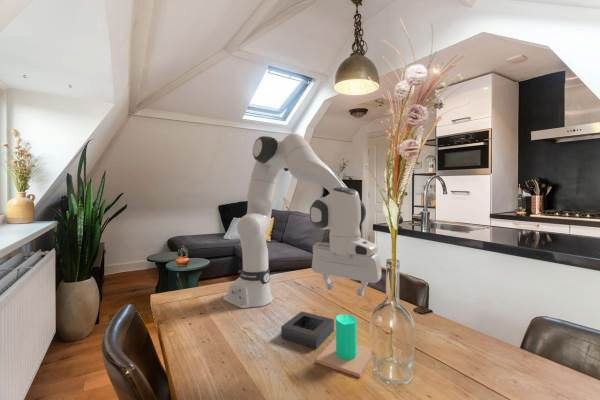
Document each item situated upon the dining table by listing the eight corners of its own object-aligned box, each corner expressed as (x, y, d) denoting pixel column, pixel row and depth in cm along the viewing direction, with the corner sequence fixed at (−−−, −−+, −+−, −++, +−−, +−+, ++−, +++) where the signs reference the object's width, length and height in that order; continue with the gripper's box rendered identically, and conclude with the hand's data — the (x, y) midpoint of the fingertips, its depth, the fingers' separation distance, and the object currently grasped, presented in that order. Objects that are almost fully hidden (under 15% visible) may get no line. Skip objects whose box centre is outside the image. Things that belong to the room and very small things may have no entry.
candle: (331, 353, 85) (331, 313, 84) (344, 345, 89) (344, 307, 88) (348, 362, 80) (348, 320, 80) (360, 353, 84) (360, 313, 84)
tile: (316, 362, 82) (315, 359, 82) (334, 341, 93) (334, 338, 93) (360, 377, 75) (360, 373, 75) (374, 352, 87) (374, 349, 87)
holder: (281, 338, 96) (281, 326, 95) (301, 322, 107) (301, 311, 106) (316, 349, 89) (316, 336, 89) (334, 330, 100) (333, 319, 100)
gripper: (307, 242, 85) (308, 289, 86) (376, 250, 75) (376, 303, 75) (317, 239, 91) (317, 282, 91) (383, 246, 80) (383, 295, 81)
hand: (344, 292), depth 83 cm, fingers open, 8 cm apart
